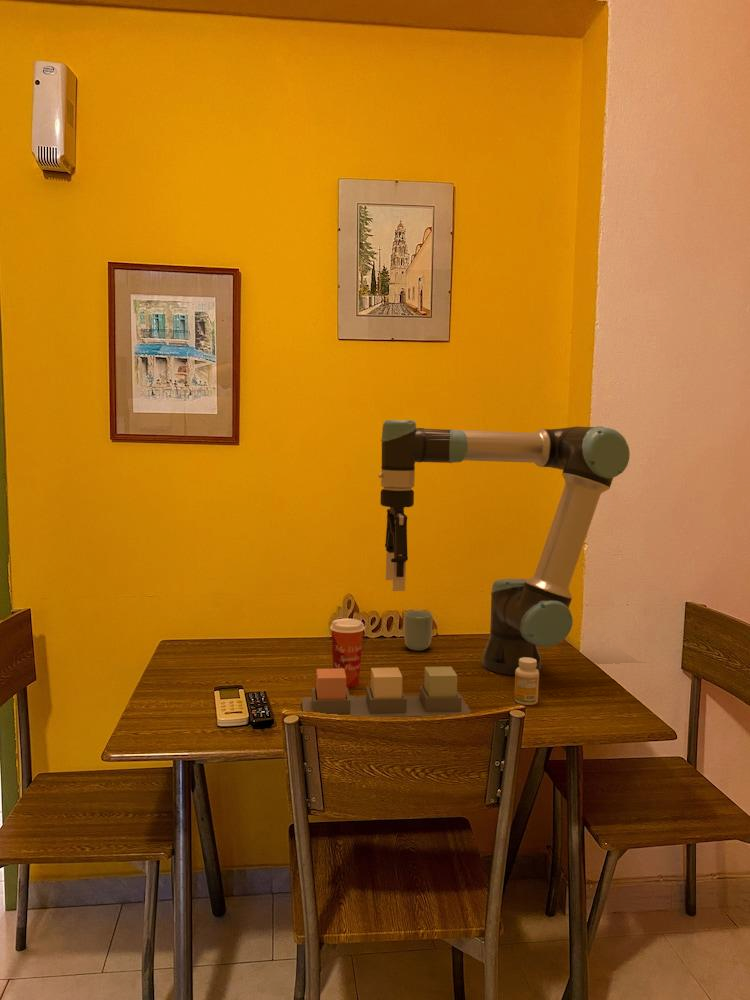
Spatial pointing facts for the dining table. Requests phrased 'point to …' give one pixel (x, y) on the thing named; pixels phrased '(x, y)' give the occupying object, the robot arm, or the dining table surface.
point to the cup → (418, 629)
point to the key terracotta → (331, 684)
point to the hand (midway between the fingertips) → (395, 585)
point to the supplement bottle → (526, 682)
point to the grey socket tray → (387, 705)
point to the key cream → (386, 683)
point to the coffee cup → (347, 648)
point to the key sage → (440, 682)
